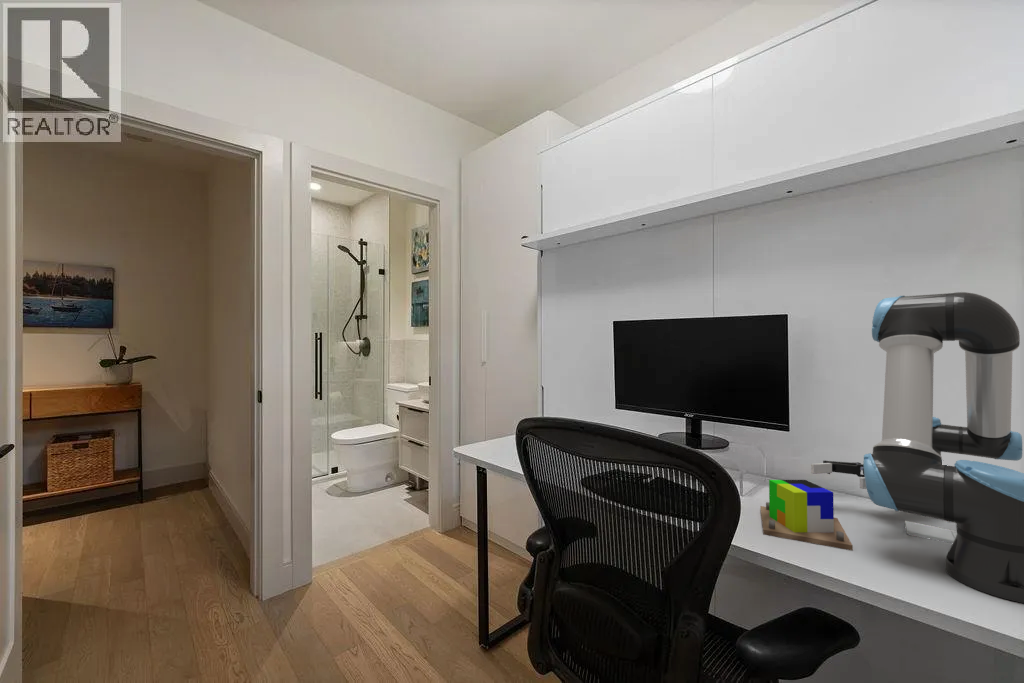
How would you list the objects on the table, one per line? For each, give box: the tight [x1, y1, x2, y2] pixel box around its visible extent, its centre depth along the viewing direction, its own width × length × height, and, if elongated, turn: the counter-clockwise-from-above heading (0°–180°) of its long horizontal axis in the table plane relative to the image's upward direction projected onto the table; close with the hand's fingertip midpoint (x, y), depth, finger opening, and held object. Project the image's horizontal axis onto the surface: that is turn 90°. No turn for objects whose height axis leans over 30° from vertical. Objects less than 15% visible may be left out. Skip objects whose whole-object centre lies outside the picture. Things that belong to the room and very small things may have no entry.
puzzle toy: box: [768, 479, 835, 532], centre depth 110 cm, size 10×10×10 cm
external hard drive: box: [904, 520, 957, 544], centre depth 106 cm, size 2×8×12 cm
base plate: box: [760, 501, 854, 551], centre depth 110 cm, size 18×18×3 cm
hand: (835, 475), depth 114 cm, fingers open, 13 cm apart
